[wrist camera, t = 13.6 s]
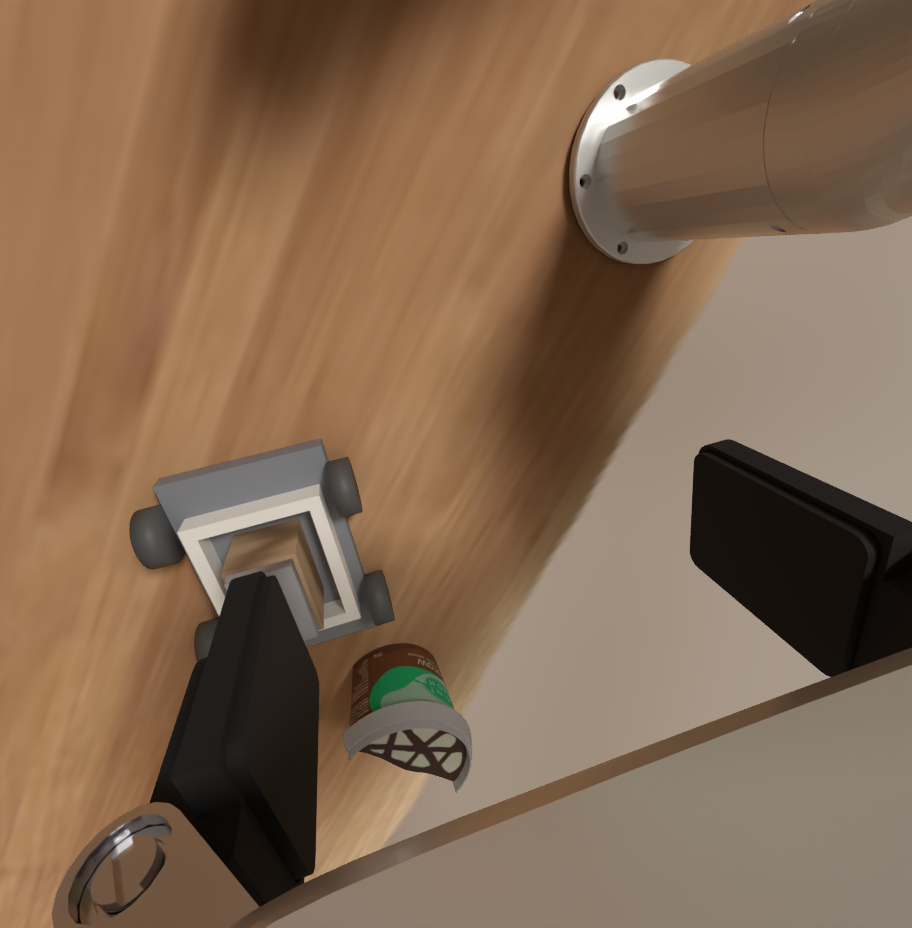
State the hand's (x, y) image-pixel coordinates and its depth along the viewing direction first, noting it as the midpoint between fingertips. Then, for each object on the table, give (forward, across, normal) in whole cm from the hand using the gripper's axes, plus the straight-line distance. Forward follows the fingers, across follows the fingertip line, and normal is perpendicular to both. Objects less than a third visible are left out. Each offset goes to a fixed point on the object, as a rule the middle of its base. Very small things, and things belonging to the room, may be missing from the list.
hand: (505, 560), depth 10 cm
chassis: (+28, +12, +15) cm, 34 cm away
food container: (+28, +4, +31) cm, 42 cm away
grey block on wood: (+27, +12, +15) cm, 33 cm away
